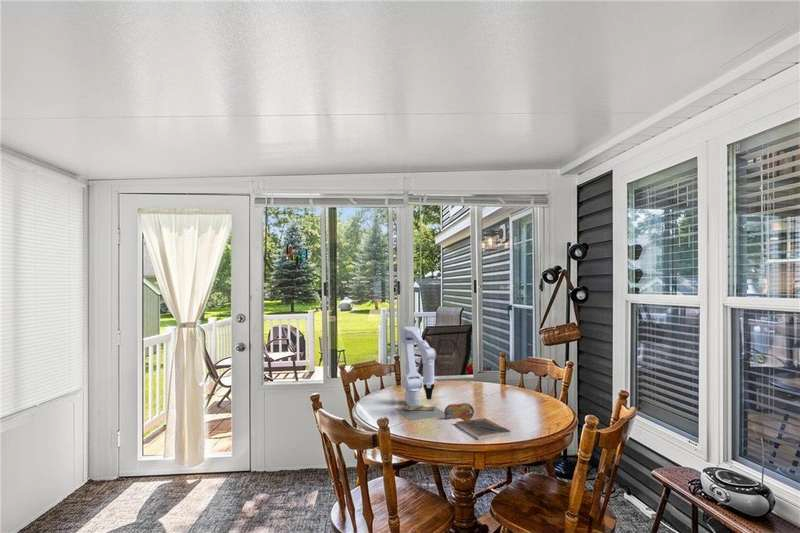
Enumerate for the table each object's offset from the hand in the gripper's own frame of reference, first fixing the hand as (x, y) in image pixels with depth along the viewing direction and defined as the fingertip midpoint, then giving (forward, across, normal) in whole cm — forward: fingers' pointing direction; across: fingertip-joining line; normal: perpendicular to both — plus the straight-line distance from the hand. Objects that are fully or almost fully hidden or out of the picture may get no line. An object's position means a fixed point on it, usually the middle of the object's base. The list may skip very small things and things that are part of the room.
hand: (428, 399), depth 229 cm
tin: (+9, -7, -15) cm, 19 cm away
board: (+9, +1, +4) cm, 10 cm away
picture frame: (+9, -20, -25) cm, 34 cm away
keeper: (+7, +5, +7) cm, 11 cm away
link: (+7, +5, +6) cm, 11 cm away
